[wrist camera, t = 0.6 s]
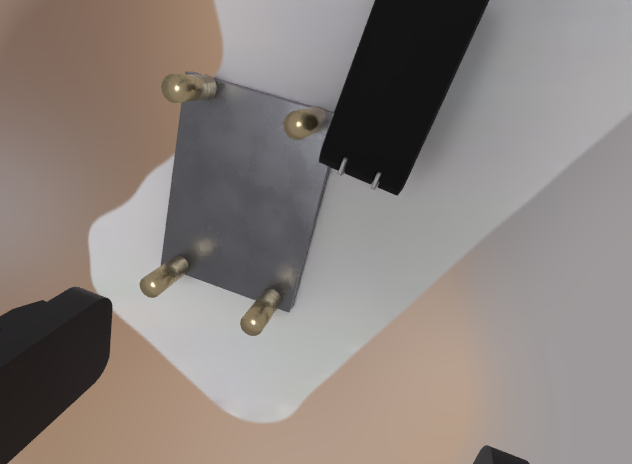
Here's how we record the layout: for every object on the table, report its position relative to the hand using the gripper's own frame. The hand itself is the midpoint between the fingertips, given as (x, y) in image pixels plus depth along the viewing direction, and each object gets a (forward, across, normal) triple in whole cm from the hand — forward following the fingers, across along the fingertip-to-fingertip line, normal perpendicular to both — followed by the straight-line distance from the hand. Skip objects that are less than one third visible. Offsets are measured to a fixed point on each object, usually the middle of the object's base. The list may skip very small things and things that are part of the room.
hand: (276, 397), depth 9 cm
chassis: (+23, +10, +5) cm, 25 cm away
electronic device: (+23, 0, -6) cm, 24 cm away
